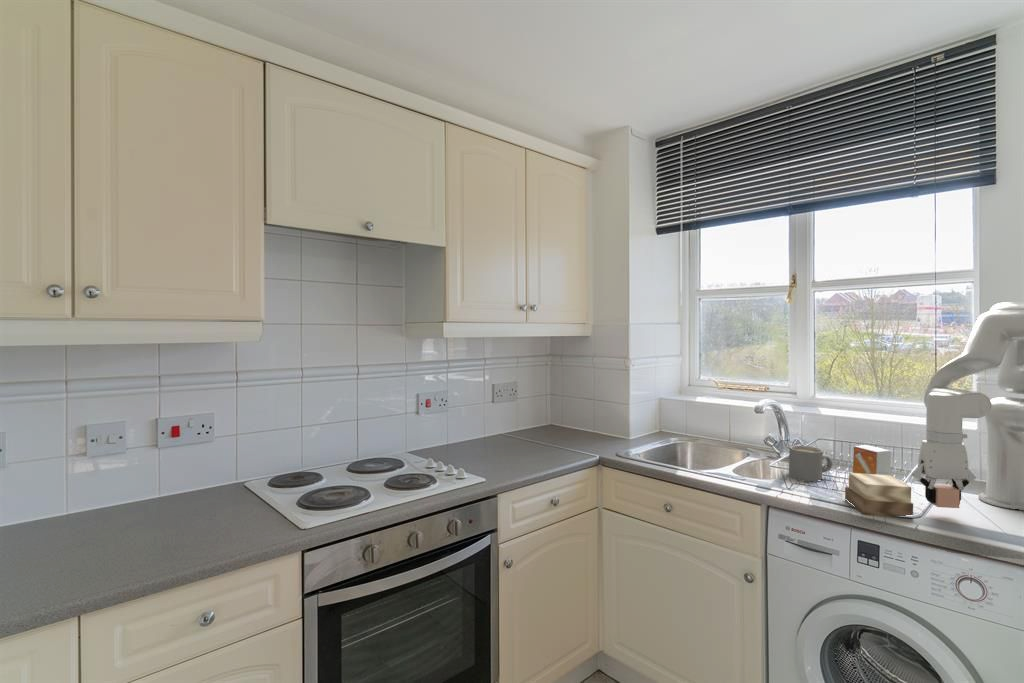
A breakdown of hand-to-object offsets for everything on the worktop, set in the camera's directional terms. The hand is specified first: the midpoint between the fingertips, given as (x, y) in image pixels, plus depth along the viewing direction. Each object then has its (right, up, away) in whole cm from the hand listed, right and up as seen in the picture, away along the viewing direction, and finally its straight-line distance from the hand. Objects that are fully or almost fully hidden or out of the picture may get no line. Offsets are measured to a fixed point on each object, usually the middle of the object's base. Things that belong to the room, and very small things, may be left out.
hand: (942, 501), depth 140 cm
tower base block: (-14, -4, +6) cm, 16 cm away
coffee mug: (-16, -3, +35) cm, 38 cm away
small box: (-2, -4, +25) cm, 25 cm away
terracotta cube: (0, -1, 0) cm, 1 cm away
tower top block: (-14, 0, +6) cm, 15 cm away
